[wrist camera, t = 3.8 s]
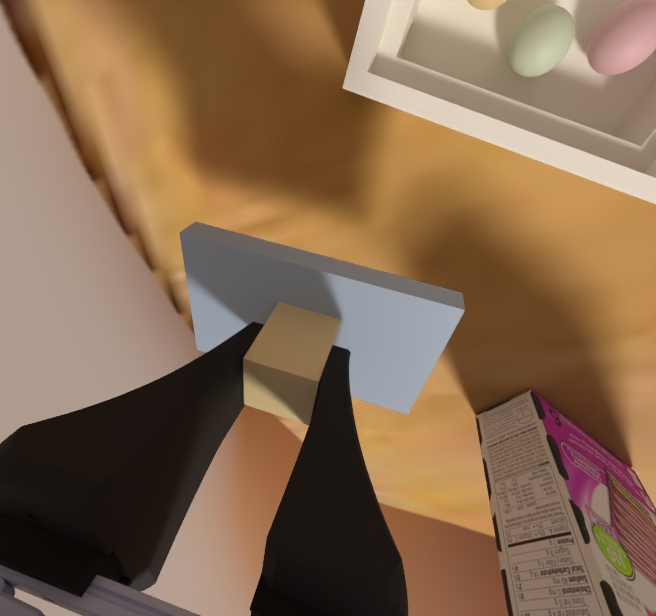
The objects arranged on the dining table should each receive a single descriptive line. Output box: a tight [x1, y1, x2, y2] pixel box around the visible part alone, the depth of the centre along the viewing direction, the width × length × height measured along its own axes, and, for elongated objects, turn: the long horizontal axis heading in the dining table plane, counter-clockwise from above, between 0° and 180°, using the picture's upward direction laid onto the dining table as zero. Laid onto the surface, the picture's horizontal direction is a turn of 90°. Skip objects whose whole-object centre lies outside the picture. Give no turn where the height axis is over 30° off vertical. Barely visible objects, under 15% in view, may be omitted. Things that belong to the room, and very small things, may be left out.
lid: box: [180, 222, 465, 425], centre depth 12 cm, size 10×6×4 cm, turn 80°
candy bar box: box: [475, 389, 656, 616], centre depth 17 cm, size 11×5×16 cm, turn 54°
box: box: [342, 0, 656, 204], centre depth 11 cm, size 12×8×4 cm, turn 73°
